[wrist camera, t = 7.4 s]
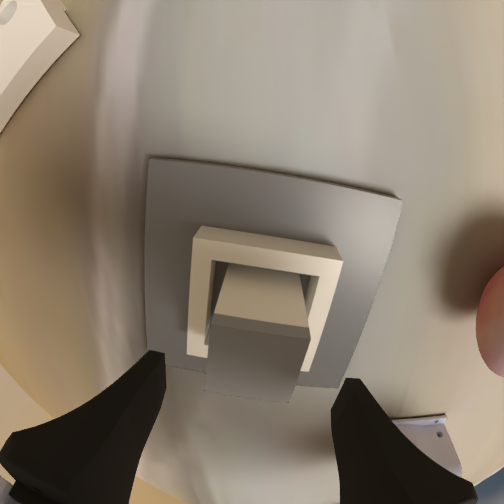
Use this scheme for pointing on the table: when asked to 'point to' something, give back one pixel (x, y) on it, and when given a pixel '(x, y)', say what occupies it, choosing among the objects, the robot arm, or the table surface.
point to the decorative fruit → (492, 324)
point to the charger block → (257, 334)
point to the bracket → (29, 47)
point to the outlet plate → (261, 255)
